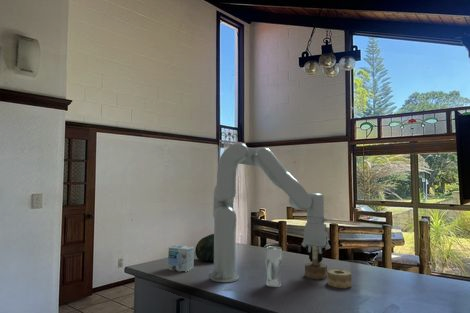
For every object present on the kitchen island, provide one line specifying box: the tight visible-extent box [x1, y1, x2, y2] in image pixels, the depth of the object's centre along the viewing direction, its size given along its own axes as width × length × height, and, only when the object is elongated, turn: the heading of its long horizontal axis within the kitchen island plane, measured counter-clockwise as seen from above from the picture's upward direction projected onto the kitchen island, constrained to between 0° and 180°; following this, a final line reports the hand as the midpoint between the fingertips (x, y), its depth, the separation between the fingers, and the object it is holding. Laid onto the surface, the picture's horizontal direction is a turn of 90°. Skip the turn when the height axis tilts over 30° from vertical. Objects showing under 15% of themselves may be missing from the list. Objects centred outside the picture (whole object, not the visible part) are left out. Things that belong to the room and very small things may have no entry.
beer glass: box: [264, 245, 283, 288], centre depth 140 cm, size 7×7×15 cm
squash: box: [194, 233, 214, 262], centre depth 183 cm, size 14×15×15 cm
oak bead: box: [327, 268, 352, 289], centre depth 141 cm, size 9×9×5 cm
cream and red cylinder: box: [311, 246, 319, 266], centre depth 154 cm, size 3×3×14 cm
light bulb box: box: [167, 244, 195, 273], centre depth 164 cm, size 11×7×11 cm, turn 68°
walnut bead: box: [304, 262, 328, 280], centre depth 153 cm, size 9×9×5 cm
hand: (315, 261), depth 154 cm, fingers closed on cream and red cylinder, 3 cm apart
